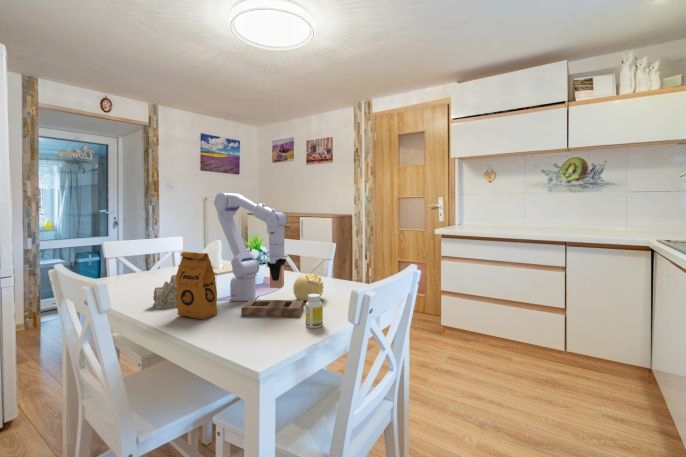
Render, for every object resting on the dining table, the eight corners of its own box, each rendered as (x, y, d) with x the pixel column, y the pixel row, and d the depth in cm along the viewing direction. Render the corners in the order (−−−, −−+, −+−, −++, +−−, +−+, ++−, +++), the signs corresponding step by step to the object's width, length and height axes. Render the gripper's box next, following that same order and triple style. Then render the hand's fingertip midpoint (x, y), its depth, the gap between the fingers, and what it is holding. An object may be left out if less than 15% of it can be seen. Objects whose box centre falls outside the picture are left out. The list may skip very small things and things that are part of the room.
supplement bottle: (325, 323, 114) (325, 293, 113) (318, 329, 109) (318, 298, 108) (309, 321, 116) (309, 292, 115) (302, 327, 111) (302, 296, 110)
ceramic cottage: (192, 294, 149) (188, 259, 147) (200, 305, 136) (197, 267, 134) (150, 302, 141) (146, 265, 139) (154, 314, 127) (150, 274, 125)
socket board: (241, 316, 121) (241, 307, 121) (249, 307, 131) (249, 299, 131) (299, 317, 120) (299, 308, 120) (303, 308, 130) (303, 300, 130)
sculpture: (322, 303, 137) (322, 276, 136) (291, 303, 137) (291, 276, 136) (324, 296, 148) (324, 270, 147) (295, 295, 148) (295, 270, 147)
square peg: (269, 287, 134) (269, 266, 133) (272, 285, 138) (272, 264, 138) (281, 288, 134) (281, 267, 133) (284, 285, 138) (283, 265, 137)
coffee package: (200, 322, 115) (198, 255, 113) (172, 317, 120) (170, 252, 118) (222, 313, 124) (221, 251, 122) (196, 309, 129) (194, 249, 127)
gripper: (283, 246, 127) (283, 283, 128) (290, 241, 142) (290, 275, 143) (263, 245, 128) (264, 283, 129) (273, 241, 142) (273, 275, 143)
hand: (277, 279), depth 136 cm, fingers closed on square peg, 4 cm apart
